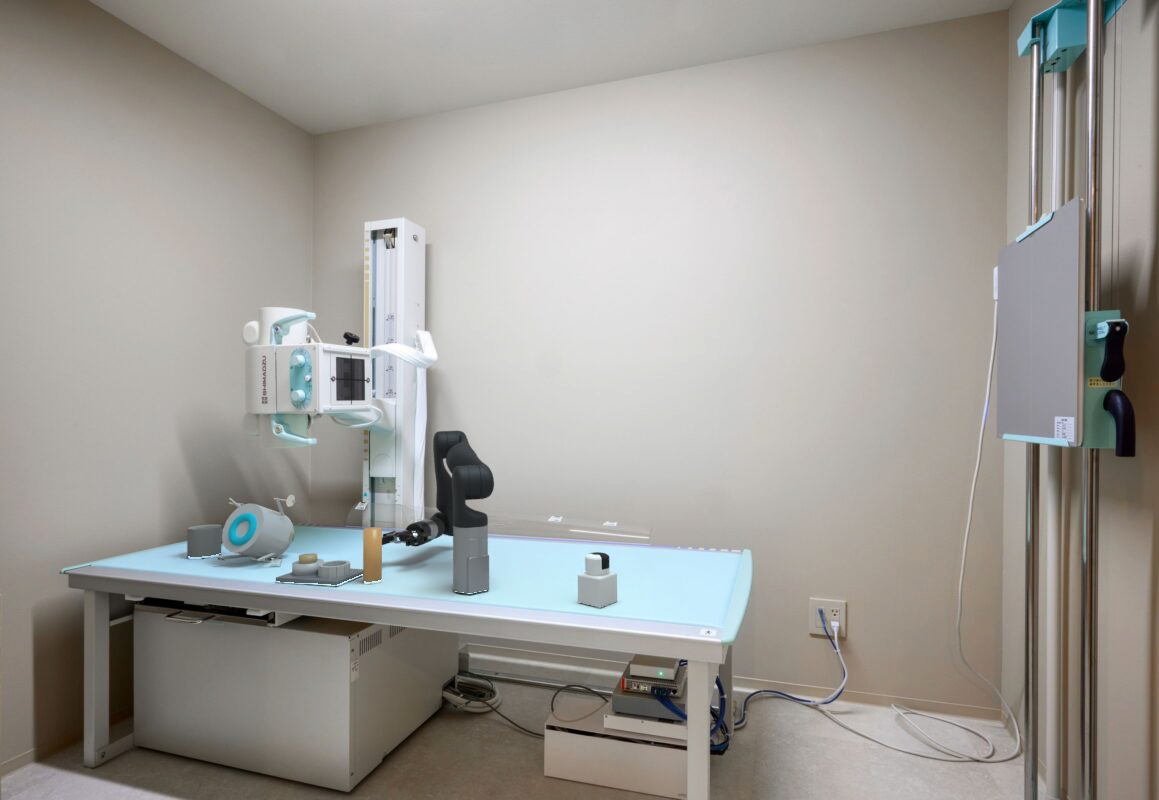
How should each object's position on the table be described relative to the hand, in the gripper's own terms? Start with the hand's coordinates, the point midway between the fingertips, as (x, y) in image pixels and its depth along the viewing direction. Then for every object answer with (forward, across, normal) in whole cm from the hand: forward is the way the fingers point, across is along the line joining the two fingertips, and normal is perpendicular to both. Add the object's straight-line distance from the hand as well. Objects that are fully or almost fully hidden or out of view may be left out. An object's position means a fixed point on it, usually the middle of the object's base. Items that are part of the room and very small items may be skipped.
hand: (394, 542), depth 180 cm
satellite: (-3, -53, +9) cm, 54 cm away
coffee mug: (-7, -77, +9) cm, 77 cm away
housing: (+11, -16, +9) cm, 22 cm away
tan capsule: (+11, 0, +9) cm, 14 cm away
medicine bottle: (+15, +67, +9) cm, 69 cm away
